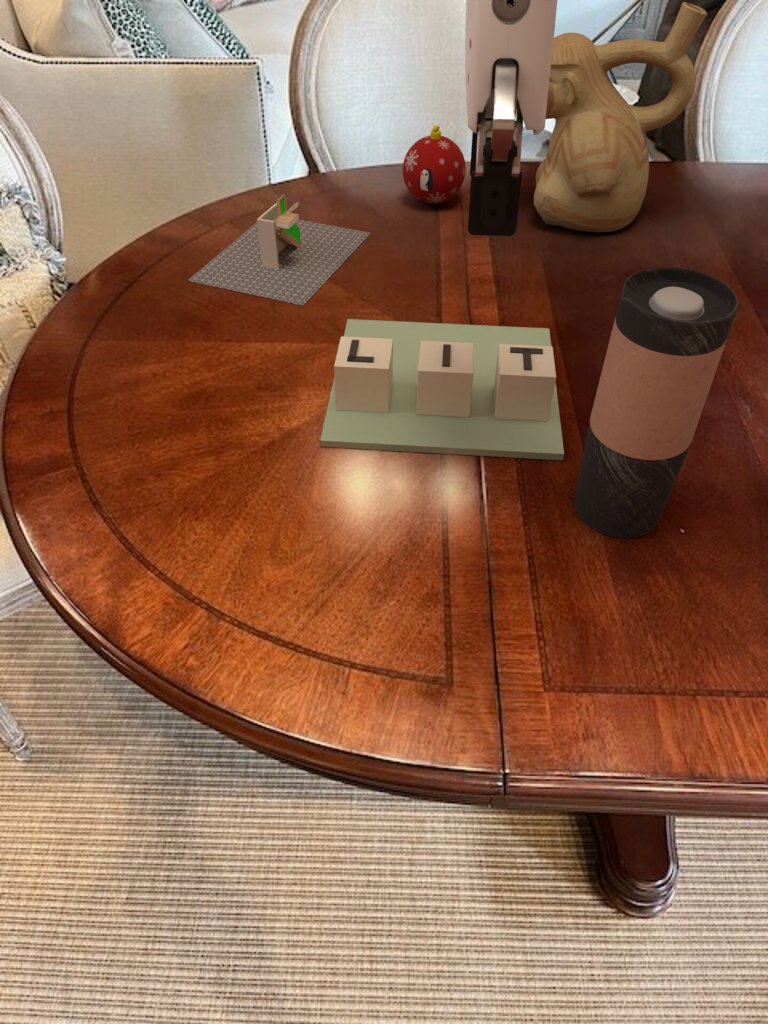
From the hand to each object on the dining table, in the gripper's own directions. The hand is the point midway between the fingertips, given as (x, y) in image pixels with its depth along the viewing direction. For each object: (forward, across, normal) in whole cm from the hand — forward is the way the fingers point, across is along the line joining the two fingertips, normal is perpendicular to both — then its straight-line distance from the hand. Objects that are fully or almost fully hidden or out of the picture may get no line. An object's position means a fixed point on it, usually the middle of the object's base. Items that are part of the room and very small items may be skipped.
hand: (491, 203), depth 56 cm
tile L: (+22, +6, +10) cm, 25 cm away
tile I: (+22, +6, +3) cm, 23 cm away
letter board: (+22, +9, +3) cm, 24 cm away
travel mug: (+23, -7, -12) cm, 27 cm away
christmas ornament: (+22, +53, +6) cm, 58 cm away
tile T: (+22, +6, -5) cm, 23 cm away
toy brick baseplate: (+22, +35, +24) cm, 48 cm away
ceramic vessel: (+22, +50, -15) cm, 57 cm away
